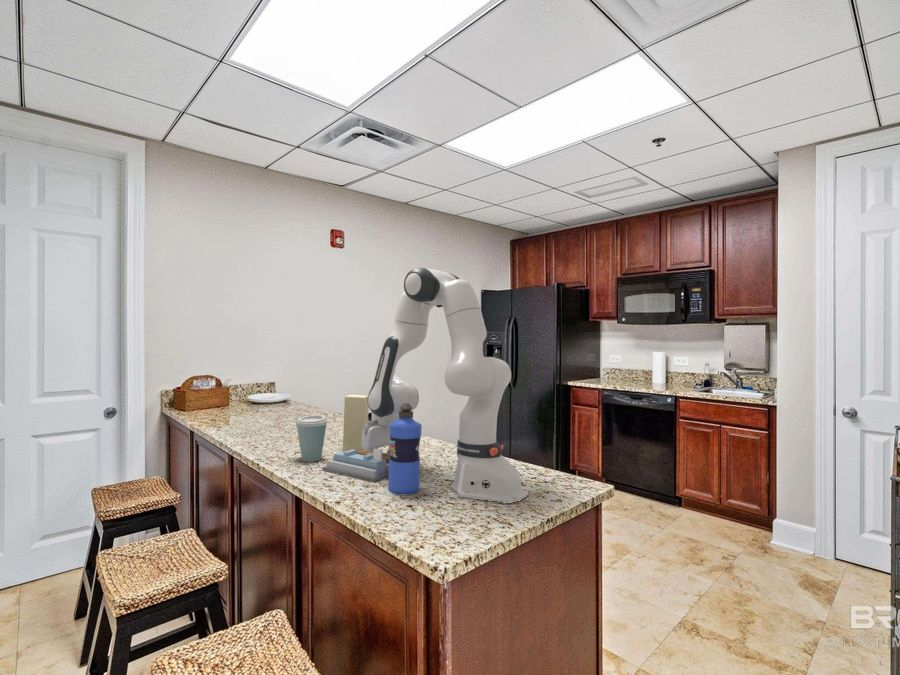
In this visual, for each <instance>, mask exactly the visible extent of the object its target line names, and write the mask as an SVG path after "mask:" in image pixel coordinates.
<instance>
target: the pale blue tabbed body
mask: <svg viewBox="0 0 900 675" xmlns="http://www.w3.org/2000/svg"><path fill="white" fill-rule="evenodd" d="M382 453H383V449H382V448H380V449H379V448H378V449H376V448H375V449H374V450H373V453H372V454H369V455H360V454H356V450H349V451H343V450H342V451H339V452H336V453H334V455H333V457H332V460H333V461H338V462H342V463H347V464H352V465H356V466H361V467H365V468H370V469H375V470H378V472H377V475H379V474H382V473H384V472H386V460H385V459H382Z"/></svg>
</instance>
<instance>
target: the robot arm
mask: <svg viewBox="0 0 900 675" xmlns="http://www.w3.org/2000/svg"><path fill="white" fill-rule="evenodd" d="M403 290H404V291H402V293H401V295H400V297H399V300H398V304H397V308H396V312H395V319H394V324H393V328H392V332H391V333H390V335H389V336H388V338H386V339H385V342H384V344H383V347H382V349H381V353H380V356H379V359H378V363H377V366H376V367H377V368H376V372H375V376H374V378H373V382H372V384H371V388H370V390H369V392H368V395H367V396H368V400H367V402H368V406H369V410H370V411H371V421H368V422H367V424H366V425H365V426H364V429H363V433H362V440H361V447H362V449H365V450H370V451H371V452H372V453H373V450H374V449H375V448H376V449H379V448H381V447H384V446H388V450H386V454H390V452H391V444H390V436H389V426H390V423H392V422H394V421H396V420H398V419H399V418H400V417H399V411H402V410H401V409H400V407H401V406H402V404H404V403H408V404H410V405H411V406H412V409H411V411H413V410H415V409H416V408H417V406H418V404H419V399H420V398H419V392H418V390H417V388H416V386H414V385H413V384H411V383H407V382H405V381H403V380H402V379H401V378H399V376H398V375H397V374H396V373H395V372H396V369H397V364H398V362H399V360H400V359H401V358H402V357H403V356H405V355H407V353H410V352H411V351H413V350H416V349H417V348H419V347H420V346H421V345H422V344H423V343H424V342H425V340H426V336H427V332H428V326H429V316H430V312H431V310H432V309H433V308H434V307H436V308H443V311H444V316H445V319H446V324H447V329H448V332H449V334H448V335H449V337H450V343H451V344H450V345H451V353H450V354H451V355H450V360H449V363H448V365H447V366H446V368H445V371H444V374H443V375H444V383H445V385H446V387H447V389H448V391H450V392H451V393H453V394H455V395H458V396H459V395H460V396H463V397H468V399H467V402H466V403H465V406H464V407H463V408H462V409H461V411H460V413H459V423H458V424H459V425H458V427H459V428H458V429H459V430H458V439H457V441H456V442H457V445H456V446H457V447H456V456H457V464H456V471H455V475H454V480H453V483H452V486H451V488H452V490H453V491H454V492H456V494H457V496H458V497H460V498H465V499H473V500H478V499H479V501H485V500H488V502H492V501H497V502H496V503H499V502H505V503H504V504H506V503H510V502H511V503H512V502H515V501H518V500H520V499H522V498H524V497H525V496H526V495H527V494H528V492H529V488H528V487H526V486H522V480H521V474H520V472H519V470H518V469H517V468H516V467H515V466H514V465H512V463H511V462H509V460H507V459H506V458H505V457H504V456H503V455H502V450H503V449H504V446H505V445H504V444H502V445H500V443H499V442H498V441H497V426H498V424H497V423H498V413H499V408H500V404H501V402H502V398H503V394H504V392H505V390H506V388H507V387H508V385H509V383H510V382H511V380H512V370H511V367H510V366H509V364H508V363H507V362H506V361H505V360H502V359H501V358H497V357H494V356H484V341H485V340H486V338H487V335H488V334H487V333H488V332H487V328H486V325H485V324H486V323H485V320H484V317H483V313H482V309H481V305H480V303H479V299H478V297H477V295H476V292H475V290H474V288H473V286H472V284H471V283H470V282H469V281H468V280H466V279H462V278H459V277H458V276H457V275H455V274H454V273H449V272H445V271H442V270H438V269H435V268H434V269H432V268H426V267H417V268H413V269H411V270H410V271H408V273H407V274H406V275H405V277H404V280H403ZM528 495H529V494H528ZM512 504H513V503H512Z"/></svg>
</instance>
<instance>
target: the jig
mask: <svg viewBox="0 0 900 675" xmlns="http://www.w3.org/2000/svg"><path fill="white" fill-rule="evenodd" d="M324 470H325V472H328V471H330V472H329V473H332V472H334V473H333V474H336V473H338V474H337V475H341V474H342V475H341V476H345V475H346V476H345V477H350V478H353V477H354V478H355V479H359V480H362V481H368V482H370V483H377V482H379V481H381V480H385V479H386V478H389V464H386V472H384V473H382V474H379V475H377V472H378V470H375V469H370V468H365V467H361V466H356V465H352V464H347V463H342V462H338V461H333V459H329V460H327V461H326V466H322V471H324Z"/></svg>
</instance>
